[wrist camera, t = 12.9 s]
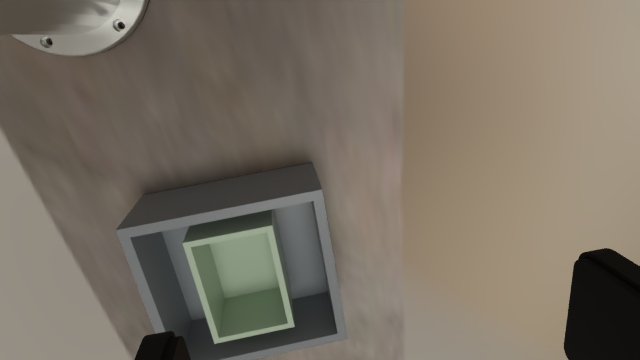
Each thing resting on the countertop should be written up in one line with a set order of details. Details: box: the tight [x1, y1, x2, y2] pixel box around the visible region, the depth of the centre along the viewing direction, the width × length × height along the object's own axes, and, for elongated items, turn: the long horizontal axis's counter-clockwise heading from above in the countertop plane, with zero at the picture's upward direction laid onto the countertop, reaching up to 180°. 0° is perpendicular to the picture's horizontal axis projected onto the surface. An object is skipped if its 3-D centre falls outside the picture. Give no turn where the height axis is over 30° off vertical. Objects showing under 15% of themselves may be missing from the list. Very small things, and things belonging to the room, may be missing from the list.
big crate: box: [116, 163, 348, 360], centre depth 36 cm, size 15×16×7 cm
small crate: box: [183, 209, 295, 344], centre depth 35 cm, size 7×10×6 cm
